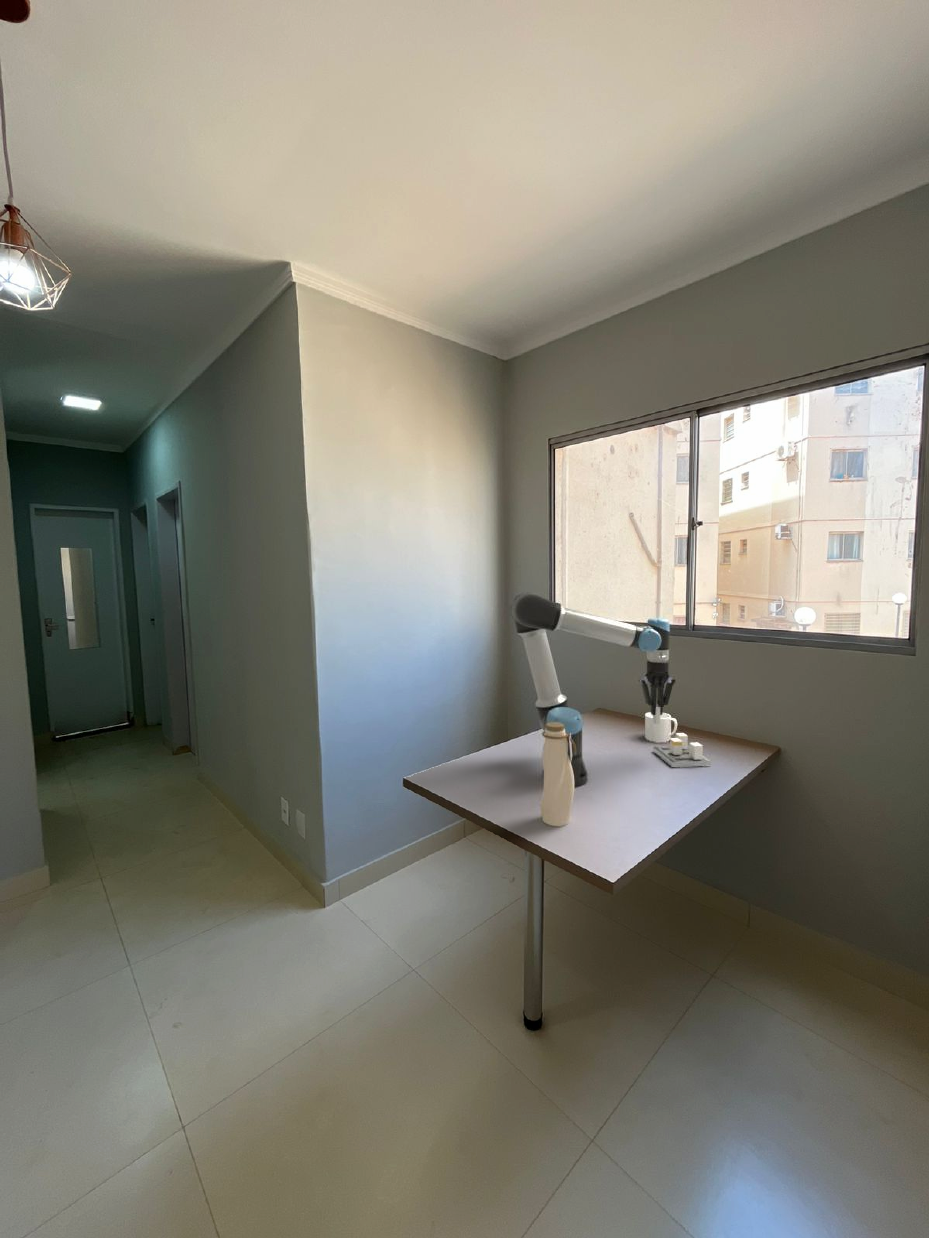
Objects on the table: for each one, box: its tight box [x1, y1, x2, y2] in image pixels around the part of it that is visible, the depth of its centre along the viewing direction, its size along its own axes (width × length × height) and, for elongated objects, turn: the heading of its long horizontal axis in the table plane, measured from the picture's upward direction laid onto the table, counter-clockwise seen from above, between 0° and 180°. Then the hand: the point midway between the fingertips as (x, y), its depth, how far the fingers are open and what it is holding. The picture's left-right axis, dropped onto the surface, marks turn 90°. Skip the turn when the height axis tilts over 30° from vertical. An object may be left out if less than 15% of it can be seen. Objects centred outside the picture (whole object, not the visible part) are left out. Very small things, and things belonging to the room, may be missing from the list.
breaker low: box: [689, 742, 704, 760], centre depth 181 cm, size 3×4×5 cm
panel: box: [652, 745, 711, 768], centre depth 187 cm, size 14×16×2 cm
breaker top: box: [674, 732, 689, 749], centre depth 192 cm, size 3×4×5 cm
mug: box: [644, 711, 678, 742], centre depth 208 cm, size 13×10×10 cm
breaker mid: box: [669, 737, 682, 755], centre depth 186 cm, size 3×4×5 cm
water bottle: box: [540, 722, 576, 827], centre depth 142 cm, size 10×9×28 cm
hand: (656, 723), depth 185 cm, fingers closed
